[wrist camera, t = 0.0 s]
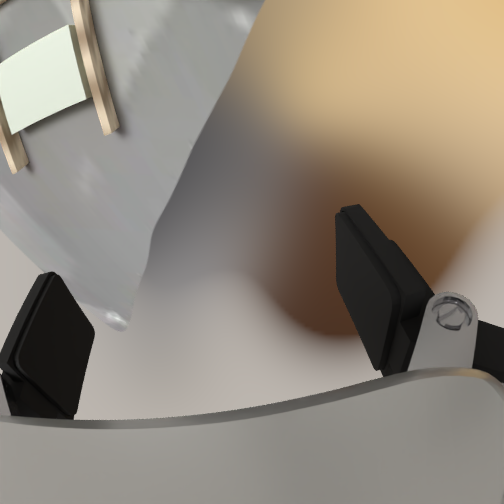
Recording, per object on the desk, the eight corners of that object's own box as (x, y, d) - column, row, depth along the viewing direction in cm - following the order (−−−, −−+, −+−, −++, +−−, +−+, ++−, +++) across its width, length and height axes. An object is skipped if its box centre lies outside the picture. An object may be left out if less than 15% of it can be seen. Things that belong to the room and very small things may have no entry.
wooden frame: (-15, 10, 20) (-30, 10, 17) (80, -47, 20) (70, -54, 17) (24, 164, 35) (12, 174, 32) (119, 126, 35) (111, 132, 32)
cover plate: (7, 65, 26) (-7, 68, 24) (79, 26, 26) (68, 24, 23) (24, 127, 32) (11, 134, 29) (96, 95, 32) (86, 99, 29)
